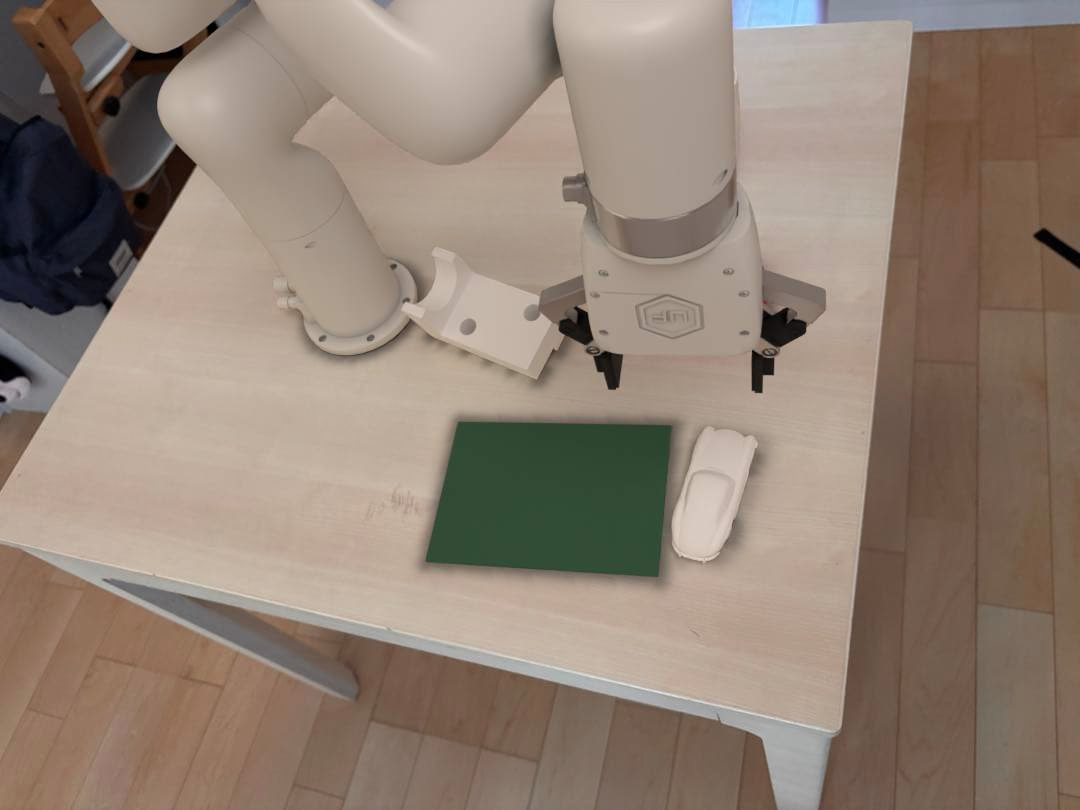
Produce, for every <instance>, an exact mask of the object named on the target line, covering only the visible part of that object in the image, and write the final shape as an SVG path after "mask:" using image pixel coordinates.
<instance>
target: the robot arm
mask: <svg viewBox="0 0 1080 810" xmlns="http://www.w3.org/2000/svg"><path fill="white" fill-rule="evenodd" d="M90 1H91V3H92V4H93V6H95V7H96V9H97V10H98V11H99V13H100V14H101V15H102V16H103V17H104V19H105V20H106V21H107V22H108V23H109V25H110V26H111V27H112V28H113V29H114V30H115V31H116V33H118V34H119V36H120V37H122V38H123V40H125V41H126V42H127V43H129V44H130V45H132V46H133V47H135V48H136V49H138V50H140V51H143V52H146V53H151V54H160V53H167V52H169V51H172V50H174V49H177V48H179V47H180V46H182V45H184V44H185V43H186V42H189V41H190V40H191V39H193V38H194V37H195V36H197V35H198V34H199V33H200V32H202V31H203V30H205V29H206V28H207V27H208V26H210V24H212V23H213V22H215V21H216V20H217V19H218V18H219V17H220V16H222V15H223V14H224V13H225V12H226V11H227V10H228V9H230V8H231V7H232V6H233V5H234V4H236V3H237V2H238V1H239V0H90ZM732 1H733V0H392V1H391V2H390V3H389V4H388V5H387V6H386V7H385V8H384V7H383V6H381V5H380V4H377V3H376V2H375V1H374V0H251V1H250V2H249V3H248V4H246V5H245V6H244V7H243V8H242V9H240V11H238V12H237V13H236V14H235V15H234V16H233V17H231V18H230V19H229V20H228V21H227V22H226V23H225V24H223V25H222V26H219V27H218V28H217V29H215V31H213V32H212V33H211V34H210V35H208V37H206V38H205V39H204V40H203V41H201V43H199V45H197V46H196V47H195V48H193V49H192V50H191V51H190V52H189V53H188V54H187V55H186V56H185V57H183V59H181V60H180V61H179V62H178V63H177V64H176V65H175V66H174V68H173V69H172V70H171V72H169V74H168V75H167V76H166V77H165V79H164V81H163V83H162V84H161V87H160V89H159V92H158V96H157V103H156V106H157V114H158V118H159V121H160V123H161V125H162V127H163V129H164V130H165V132H166V133H167V134H168V136H169V137H170V138H171V139H172V141H173V142H174V143H175V144H176V146H178V148H180V149H181V151H182V152H183V153H184V154H186V155H187V156H188V157H189V158H190V159H191V160H192V162H193V163H194V164H196V166H198V167H199V168H200V169H201V171H203V173H205V175H207V176H208V177H209V179H210V180H212V182H213V183H215V185H216V186H217V188H219V189H220V190H221V192H222V194H224V195H225V197H226V198H227V199H228V201H229V202H230V203H231V204H232V206H233V207H234V208H235V210H237V212H238V213H239V215H240V216H241V217H242V219H243V220H244V222H245V223H246V225H247V226H248V227H249V229H250V230H251V232H252V233H254V235H255V237H256V238H257V239H258V241H259V242H260V243H261V245H262V246H263V248H264V249H265V251H266V252H267V254H268V255H269V256H270V258H271V259H272V260H273V262H274V263H275V265H276V266H277V268H278V269H279V270H280V272H281V273H282V275H276V276H274V278H273V281H272V286H273V291H274V292H275V293H276V294H294V293H296V296H292V295H280V296H278V297H277V299H276V306H277V308H278V309H279V310H292V309H297V310H298V311H300V313H301V314H302V315H303V326H304V330H305V332H306V333H307V336H308V337H309V338H310V340H311V341H312V342H313V343H314V345H316V347H318V348H320V349H321V350H322V351H325V352H326V353H328V354H329V353H330V354H333V355H338V356H354V355H360V354H364V353H368V352H371V351H374V350H375V349H378V348H379V347H380V348H381V346H384V345H386V344H387V343H388V342H390V341H391V340H393V339H394V338H395V337H396V336H397V335H399V334H400V332H402V331H403V330H404V328H405V327H406V326H407V325H408V324H409V322H410V320H412V319H411V318H410V317H408V316H407V315H406V314H405V313H404V312H402V311H401V309H402V307H403V305H404V303H405V302H408V303H410V304H416V303H418V297H419V292H418V286H417V283H416V281H415V278H414V277H413V275H412V274H411V272H410V270H409V269H408V268H407V267H406V266H404V265H403V264H402V263H401V262H398V261H396V260H393V259H390V258H386V256H385V254H384V253H383V251H382V248H381V247H380V245H379V243H378V242H377V240H376V237H375V236H374V235H373V232H372V230H371V229H370V227H369V226H368V225H369V224H367V222H366V220H365V218H364V216H363V215H362V213H361V211H360V209H359V207H358V205H357V204H356V202H355V200H354V198H353V197H352V195H351V193H350V191H349V189H348V187H347V186H346V183H345V182H344V180H343V179H342V176H341V175H340V174H339V171H338V169H337V168H336V167H335V165H334V163H333V162H332V161H331V160H330V159H329V158H328V157H327V156H326V155H324V153H322V152H321V151H319V150H318V149H315V148H313V147H311V146H308V145H306V144H302V143H299V142H295V141H293V140H294V138H295V136H296V135H297V134H298V132H300V130H301V129H302V128H303V127H304V126H305V125H306V124H307V123H308V121H309V120H310V119H311V118H313V116H315V114H316V113H318V112H319V111H320V110H321V109H322V108H323V107H324V106H325V105H326V104H327V103H328V102H329V101H331V99H332V98H334V97H335V98H336V99H338V100H339V102H341V103H343V104H344V105H345V106H346V107H347V108H349V109H350V110H351V111H352V112H353V113H354V114H355V115H357V116H358V117H359V118H360V119H361V120H363V121H364V122H365V123H367V124H368V125H369V126H370V127H371V128H373V129H374V130H375V131H377V132H378V133H379V134H380V135H382V136H383V137H384V138H385V139H387V140H388V141H390V142H391V143H392V144H394V145H395V146H397V147H398V148H400V149H401V150H403V151H405V152H406V153H408V154H409V155H412V156H414V157H415V158H417V159H419V160H422V161H426V162H428V163H431V164H435V165H439V166H446V167H447V166H461V165H464V164H468V163H470V162H473V161H474V160H476V159H478V158H479V157H481V156H483V155H484V154H486V153H487V152H488V151H490V150H491V149H492V148H493V147H494V146H495V145H496V144H497V143H498V142H499V141H501V139H502V138H503V137H504V136H505V135H506V134H507V133H508V131H510V130H511V129H512V127H514V125H515V124H516V123H517V122H518V121H519V120H520V119H521V118H522V117H524V115H525V114H526V112H528V110H529V109H530V108H531V107H532V106H533V105H534V103H536V101H537V100H538V99H539V98H540V97H541V96H542V95H543V94H544V93H545V91H546V90H548V89H549V88H550V86H551V85H552V84H553V83H554V82H556V80H558V79H561V78H562V77H563V80H564V84H565V90H566V93H567V98H568V103H569V107H570V112H571V116H572V122H573V126H574V130H575V136H576V140H577V145H578V148H579V153H580V157H581V162H582V168H583V172H578V173H577V174H576V175H570V176H569V175H568V176H566V175H565V176H563V178H562V184H561V185H562V186H561V192H562V193H561V194H562V199H563V202H565V203H570V202H571V203H573V202H577V204H579V205H583V206H584V207H585V208H586V210H585V214H584V217H583V221H582V224H581V234H580V235H581V237H580V238H581V239H580V253H581V254H580V255H581V267H582V268H581V269H582V274H580V275H579V276H578V275H577V276H576V277H573V278H571V279H568V280H565V281H563V282H561V283H560V282H559V283H557V284H555V285H553V286H550V287H548V288H544V289H543V290H541V291H540V295H539V296H540V299H539V304H538V310H539V311H540V312H541V313H542V314H543V315H544V316H545V317H547V318H548V319H549V320H550V321H551V322H552V323H553V324H554V323H556V324H557V325H558V326H559V328H558V329H559V332H560V333H562V334H564V335H565V337H568V338H569V339H572V340H573V341H576V342H578V343H579V344H581V345H583V346H584V347H583V352H584V353H585V354H587V355H588V356H591V357H593V362H594V365H595V369H596V372H597V373H603V376H604V380H605V383H606V387H607V390H608V391H616V390H617V389H619V388H620V385H621V383H620V382H621V376H622V369H623V360H624V355H626V356H659V357H660V356H663V357H664V356H666V357H727V356H728V357H729V356H731V357H732V356H739V355H743V354H746V353H749V352H751V356H750V357H751V358H750V359H751V363H750V364H751V365H750V366H751V367H750V368H751V376H750V377H751V379H750V380H751V392H754V394H763V389H764V376H775V358H776V357H778V356H779V355H780V353H781V348H782V347H784V346H786V345H788V344H789V343H791V342H793V341H795V340H797V339H799V338H800V337H802V336H804V335H806V333H807V328H808V327H809V326H810V325H813V324H814V323H815V322H816V321H817V320H818V319H819V318H820V316H822V315H823V314H824V312H825V311H826V310H827V290H826V289H825V288H823V287H821V286H818V285H814V284H811V283H808V282H804V281H801V280H798V279H795V278H792V277H790V276H789V277H788V276H786V275H782V274H779V273H776V272H773V271H771V270H766V269H764V268H763V269H762V266H763V261H762V252H761V251H762V250H761V244H760V236H759V230H758V226H757V222H756V218H755V213H754V210H753V206H752V204H751V200H750V198H749V195H748V193H747V191H746V189H745V188H744V186H743V185H742V184H741V183H740V182H738V177H737V176H738V174H737V173H738V172H737V147H736V141H735V93H734V64H735V63H734V62H735V61H734V60H735V58H734V21H733V17H734V16H733V2H732ZM763 301H766V303H770V304H772V305H777V306H780V307H783V308H782V309H781V310H779V311H775V310H774V309H773V308H771V307H770V306H769V305H767V304H766V305H765V304H764V303H763ZM584 304H586V310H587V311H586V310H584V309H583V308H580V307H579V306H581V305H584Z"/></svg>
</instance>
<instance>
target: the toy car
mask: <svg viewBox="0 0 1080 810" xmlns="http://www.w3.org/2000/svg"><path fill="white" fill-rule="evenodd" d="M758 446H759V443H758V440H756V438H755V436H754V435H752V434H748V435H746V436H744V435H743V434H742V433H740V432H739V431H736V430H734V429H729V428H721V429H715V427H712V426H710V425H707V426H706V427H705V428H703V430H702V432H701V433H700V434H699V436H698V438H697V440H696V442H695V445H694V448H693V452H692V456H691V460H690V464H689V467H688V470H687V472H686V475H685V478H684V482H683V485H682V487H681V490H680V494H679V497H678V500H677V502H676V504H675V506H674V510H673V513H672V518H671V536H672V537H671V538H672V539H671V544H672V547H673V550H674V551H675V553H676V554H677V555H678V557H679V558H681V557H683V558H684V559H685V558H686V559H689V560H692V561H693V560H694V561H697V563H699V562H702V564H703V565H705V564H706V563H707V562H709V561H712V560H714V559H715V558H717V557H718V556H720V554H721V550H722V548H723V547H724V545H725V544H726V541H727V540H728V539H729V537H730V535H731V532H732V527H733V522H734V520H736V517H737V515H738V510H739V508H740V505H741V504H740V503H741V501H742V497H743V495H744V492H745V489H746V485H747V481H748V478H749V474H750V467H751V465H752V462H753V458H754V455H755V452H756V451H755V450H757V448H758Z"/></svg>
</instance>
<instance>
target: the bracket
mask: <svg viewBox="0 0 1080 810" xmlns="http://www.w3.org/2000/svg"><path fill="white" fill-rule="evenodd" d="M432 250H433V251H431V254H430V255H431V257H432V259H433V260H434V264H435V277H434V281H433V284H432V287H431V288H430V291H429V292H428V294H426V296H425V297H424V298H423V299H422V300H421V301H419V302H417V303H416V304H410V303H408V302H405V303H404V305H403V307H402V309H401V311H402V312H404V313H405V314H406V315H407V316H408V317H410V318H411V319H410V320H412V322H414V323H415V324H416V325H418V326H419V327H420V328H421V329H422V330H424V331H425V332H426V333H427V334H428V335H430V336H431V337H432V338H434V339H436V340H439V341H441V342H444V343H446V344H448V345H452V346H453V347H456V348H457V349H460V350H463V351H465V352H468V353H470V354H473V355H476V356H479V357H480V358H482V359H485V360H487V361H490V362H493V363H495V364H497V365H500V366H502V367H505V368H507V369H509V370H511V371H515V372H516V373H519V374H522V375H524V376H527V377H528V378H532V379H534V380H539V377H540V375H541V373H542V371H543V369H544V367H545V365H546V363H547V361H548V359H549V358H550V357H551V356H550V355H551V353H552V352H553V351H556V352H558V350H559V348H560V346H561V344H562V342H563V341H564V338H565V337H566V335H564V334H562V333H560V332H559V329H558V328H559V326H558V325H557V324H556V323H554V324H553V323H552V322H551V321H550V320H549V319H548V318H547V317H545V316H544V315H543V314H542V313H541V312H540V311H539V310H538V304H539V299H540V295H537V294H534V293H532V292H530V291H526V290H523V289H521V288H518V287H515V286H512V285H511V284H510V285H509V284H506V283H504V282H501V281H498V280H496V279H493V278H491V277H487V276H485V275H481V274H479V273H476V272H474V271H473V270H472V269H471V268H470V267H469V266H468V264H467V263H466V262H465V261H464V260H463V259H462V258H461V257H460V255H458V253H456V252H453V251H451V250H448V249H444V248H441V247H439V246H435V247H434V249H432Z"/></svg>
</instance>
